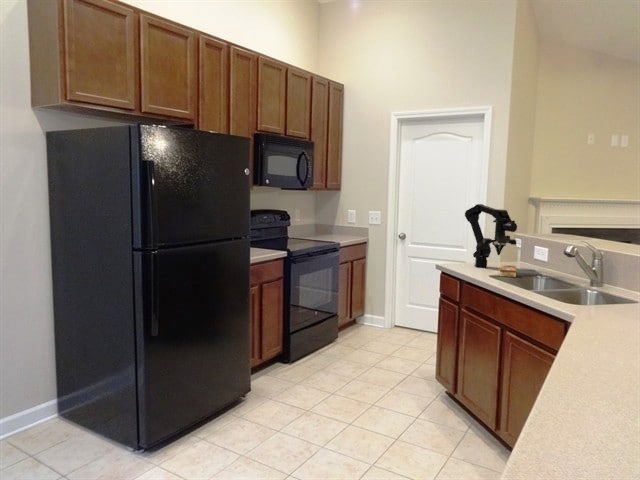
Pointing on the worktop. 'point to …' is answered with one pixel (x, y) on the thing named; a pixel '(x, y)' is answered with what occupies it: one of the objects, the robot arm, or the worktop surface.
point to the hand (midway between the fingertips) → (498, 255)
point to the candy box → (508, 271)
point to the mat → (527, 272)
